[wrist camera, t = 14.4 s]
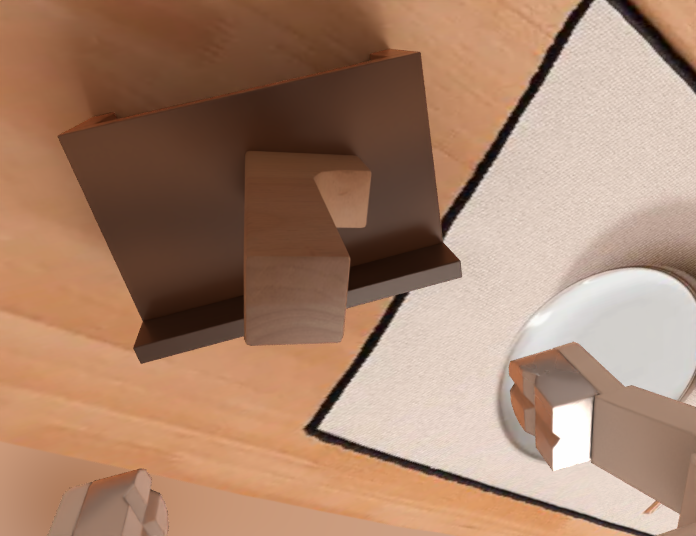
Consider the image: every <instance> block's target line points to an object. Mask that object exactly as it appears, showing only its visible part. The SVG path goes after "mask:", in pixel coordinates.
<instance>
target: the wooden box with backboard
mask: <svg viewBox="0 0 696 536" xmlns="http://www.w3.org/2000/svg"><path fill="white" fill-rule="evenodd" d="M58 138H59V141H60V143H61V145H62V147H63V149H64V151H65V154H66V156H67V158H68V160H69V162H70V164H71V167H72V169H73V171H74V173H75V175H76V177H77V180H78V182H79V184H80V186H81V188H82V190H83V193H84V195H85V197H86V199H87V201H88V203H89V206H90V208H91V210H92V212H93V214H94V216H95V219H96V221H97V223H98V225H99V227H100V229H101V232H102V234H103V236H104V238H105V240H106V242H107V245H108V247H109V249H110V251H111V253H112V255H113V258H114V260H115V262H116V264H117V266H118V268H119V271H120V273H121V275H122V277H123V279H124V281H125V284H126V286H127V288H128V290H129V292H130V294H131V297H132V299H133V301H134V303H135V305H136V307H137V310H138V312H139V314H140V316H141V318H142V320H143V322H142V325H141V328H140V331H139V333H138V336H137V339H136V342H135V345H134V347H133V349H134V351H135V353H136V355H137V357H138V359H139V361H140V363H141V364H142V363H146V362H150V361H153V360H157V359H161V358H165V357H168V356H172V355H176V354H179V353H183V352H187V351H190V350H194V349H198V348H202V347H205V346H209V345H213V344H216V343H220V342H224V341H228V340H231V339H235V338H239V337H242V336H244V203H245V154H246V152H247V151H265V152H288V153H311V154H333V155H354V156H358V157H359V158H360V159H361V160H362V162H363V163H364V164H365V165H366V166H367V167H368V168H369V169H370V170H371V173H372V174H371V183H370V193H369V203H368V213H367V223H366V226H365V227H363V228H341V227H336V228H337V230H338V232H339V234H340V237H341V239H342V241H343V243H344V245H345V247H346V249H347V252H348V254H349V256H350V270H349V281H348V292H347V303H346V308H350V307H353V306H357V305H361V304H365V303H368V302H372V301H376V300H379V299H383V298H387V297H390V296H394V295H398V294H402V293H405V292H409V291H413V290H416V289H420V288H424V287H427V286H431V285H435V284H439V283H442V282H446V281H450V280H453V279H457V278H461V277H462V271H461V262H460V260H459V259H458V258H457V257H456V256H455V255H454V253H453V252H452V251H451V250H450V249H449V248H448V247H447V246H446V245H445V244H444V243H443V238H442V230H441V222H440V213H439V205H438V196H437V188H436V179H435V171H434V162H433V154H432V146H431V137H430V129H429V120H428V112H427V103H426V95H425V87H424V78H423V70H422V61H421V53H420V52H414V51H404V50H394V49H388V50H383V51H379V52H374V53H370V61H367V62H363V63H359V64H354V65H350V66H346V67H341V68H337V69H333V70H328V71H324V72H320V73H315V74H311V75H307V76H302V77H298V78H294V79H289V80H285V81H280V82H276V83H272V84H267V85H263V86H259V87H254V88H250V89H246V90H241V91H237V92H233V93H228V94H224V95H220V96H215V97H211V98H207V99H202V100H198V101H194V102H189V103H185V104H180V105H176V106H172V107H167V108H163V109H159V110H154V111H150V112H146V113H141V114H137V115H133V116H128V117H124V118H120V119H117V117H116V115H115V113H114V112H112V113H108V114H104V115H99V116H95V117H91V118H90V119H88V120H86V121H84V122H82V123H80V124H78V125H77V126H75V127H73V128H71V129H69V130H67V131H65V132H63V133H62V134H60V135H58Z"/></svg>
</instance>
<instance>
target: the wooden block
mask: <svg viewBox="0 0 696 536" xmlns="http://www.w3.org/2000/svg"><path fill="white" fill-rule="evenodd" d="M371 174H372V173H371V170H370V169H369V168H368V167H367V166H366V165H365V164H364V163H363V162H362V160H361V159H360V158H359V157H358V156H354V155H333V154H311V153H288V152H265V151H247V152H246V154H245V203H244V340H245V342H246V344H247V345H251V346H255V345H286V344H317V343H338V342H341V340H342V338H343V335H344V325H345V314H346V303H347V292H348V281H349V270H350V256H349V254H348V252H347V249H346V247H345V245H344V243H343V241H342V239H341V237H340V234H339V232H338V230H337V228H336V227H341V228H363V227H365V226H366V223H367V213H368V203H369V193H370V183H371Z"/></svg>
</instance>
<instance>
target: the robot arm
mask: <svg viewBox="0 0 696 536" xmlns="http://www.w3.org/2000/svg"><path fill="white" fill-rule="evenodd" d="M509 376H510V377H511V378H512V380H513V381H514V382H515V383H514V385H513V387H512V388H511V390H510V396H511V403H512V407H513V410H514V413H515V415H516V417H517V419H518V421H519V423H520V425H521V426H522V428H523V429H524V431H525V432H527V433H529V434H531V435H534V436H535V437H536V448H537V449H538V451H539V452H540V454H541V455H542V456H543V458H544V459H545V461H546V462H547V464H548V465H549V466H550V468H551V469H552V471H555V470H558V469H562V468H566V467H569V466H573V465H576V464H580V463H584V462H587V461H591V463H593V464H595V465H596V466H598V467H600V468H601V469H603V470H605V471H607V472H608V473H610V474H612V475H613V476H615V477H617V478H619V479H620V480H622V481H624V482H625V483H627V484H629V485H631V486H632V487H634V488H636V489H637V490H639V491H641V492H643V493H644V494H646V495H648V496H649V497H651V498H653V499H655V500H656V501H658V502H660V503H661V504H663V505H665V506H667V507H668V508H670V509H672V510H673V511H675V512H677V513H679V514H680V516H679V522H678V527H677V529H674V530H671V531H668V532H665V533H662V534H659V535H656V536H696V407H694V406H691V405H688V404H685V403H682V402H679V401H676V400H673V399H671V398H668V397H665V396H662V395H659V394H656V393H653V392H650V391H647V390H644V389H641V388H638V387H635V386H632V385H631V386H627V387H625V386H624V385H622V384H621V383H620V382H619V381H618V380H617V379H616V378H615V377H614V376H613V375H612V374H611V373H610V372H609V371H607V370H606V369H605V368H604V367H603V366H602V365H601V364H600V363H599V362H598V361H597V360H596V359H595V358H593V357H592V356H591V355H590V354H589V353H588V352H587V351H586V350H585V349H584V348H583V347H582V346H581V345H580V344H578V343H575V342H572V343H568V344H565V345H562V346H559V347H555V348H553V349H549V350H546V351H543V352H539V353H536V354H533V355H529V356H526V357H523V358H519V359H516V360H513V361H510V364H509ZM151 483H152V478H151V477H150V475H149V474H148V472H147V470H146V469H137V470H133V471H129V472H126V473H122V474H118V475H114V476H111V477H107V478H103V479H99V480H95V481H93V482H90V483H86V484H82V485H78V486H75V487H71V488H69V489H68V490H67V491H66V492H65V493H64V494H63V497H62V499H61V502H60V505H59V507H58V509H57V512H56V515H55V517H54V520H53V522H52V525H51V527H50V530H49V533H48V535H47V536H168V529H169V522H168V511H167V508H166V505H165V502H164V500H163V498H162V496H161V494H160V493H158V492H156V491H153V490H151Z"/></svg>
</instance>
